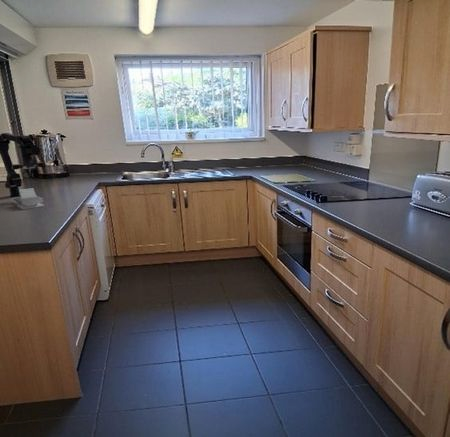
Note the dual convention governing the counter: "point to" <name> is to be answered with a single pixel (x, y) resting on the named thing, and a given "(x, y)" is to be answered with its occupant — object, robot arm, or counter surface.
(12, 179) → the robot arm
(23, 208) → the pad
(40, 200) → the light grey flat frame
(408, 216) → the counter surface
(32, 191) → the skincare box
